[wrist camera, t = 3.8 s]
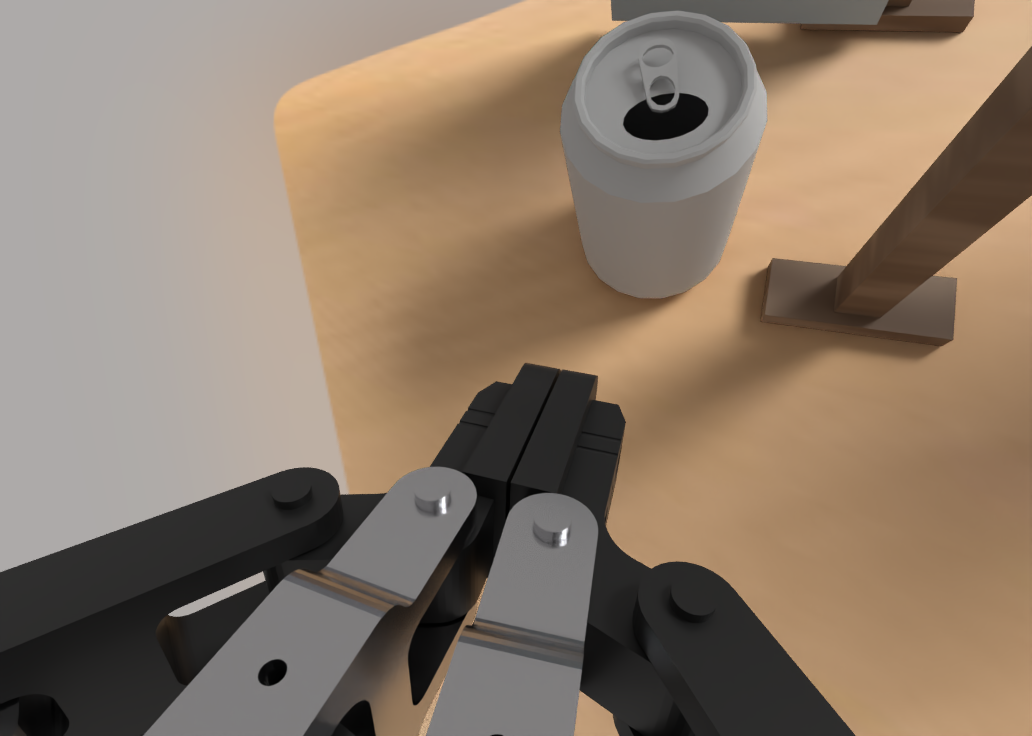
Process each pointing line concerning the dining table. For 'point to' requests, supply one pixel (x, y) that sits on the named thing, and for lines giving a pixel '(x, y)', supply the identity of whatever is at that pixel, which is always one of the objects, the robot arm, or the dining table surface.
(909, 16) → the door frame
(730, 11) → the door
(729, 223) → the can
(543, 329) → the dining table surface
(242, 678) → the robot arm
